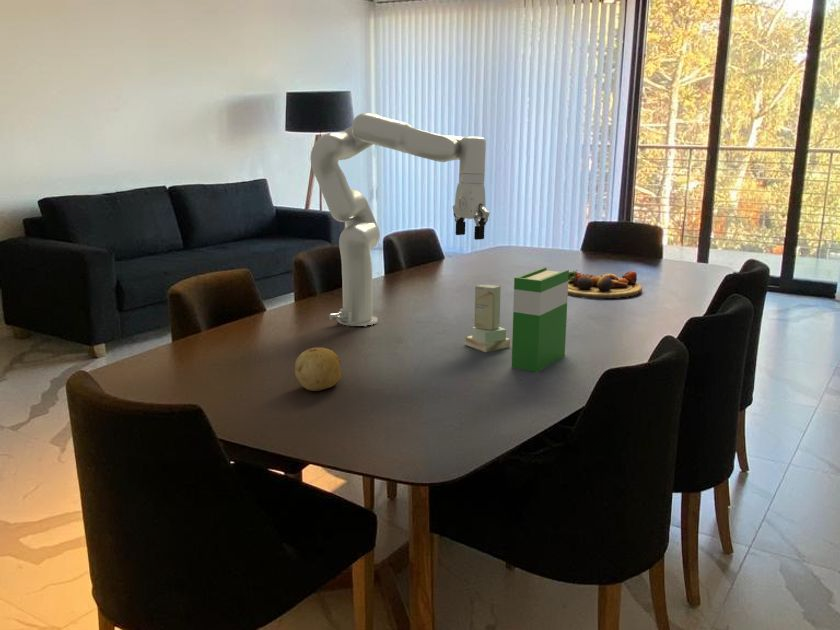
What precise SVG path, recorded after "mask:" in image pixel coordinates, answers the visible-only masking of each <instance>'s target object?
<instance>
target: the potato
mask: <svg viewBox="0 0 840 630" xmlns="http://www.w3.org/2000/svg"><path fill="white" fill-rule="evenodd" d="M340 364H341V360H340V357H339V355H338V354H337V353H336V352H334V351H333V350H332V349H329V348H326V347H312V348H308V349H306V350H304V351H302V352H301V353H300V354H299V355H298V356H297V358H296V360H295V364H294V373H295V378H296V379H297V381H298V382H299V384H300V385H301V386H302V387H303V388H304V389H306V390H308V391H313V392H317V391H322V390H326V389H330V388H332V387H333V386H335V385H336V384H337V383H338V382H340V380H341V378H342V373H341V365H340Z"/></svg>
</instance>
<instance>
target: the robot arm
mask: <svg viewBox="0 0 840 630" xmlns="http://www.w3.org/2000/svg"><path fill="white" fill-rule="evenodd" d="M373 145H374V146H379V147H384V148H387V149H391V150H394V151H398V152H401V153H405V154H407V155H408V154H409V155H411V156H412V155H413V156H414V157H418V158H423V159H427V160H431V161H434V162H439V163H440V162H441V163H445V162H447V163H448V162H451V161H459V162H458V163H459V167H458V168H459V170H458V171H459V172H458V183H457V187H456V191H455V199H454V205H453V206H452V210H453V211H452V212H453V217H454V222H455V235H456V236H463V235H466V221H465V220H466V219H467V220H472V219H473V220H474V223H475V226H474V235H473V239H474V240H475V241H477V240H478V241H479V240H484V239H485V227H486V225H487V222H488V220H489V216H490V214H491V213H490V211H489V210H488V209H487V208H486V190H485V189H486V188H485V176H486V175H485V173H486V172H485V169H486V148H487V147H486V146H487V143H486V139H485V138H484V137H482V136H458V135H451V134H446V135H445V134H444V135H443V134H438V133H433V132H429V131H426V130H422V129H419V128H417V127H414V126H412V125H411V124H410V123H407V122H404V121H400V120H397V119H393V118H388V117H384V116H381V115H380V114H378V113H374V112H372V113H371V112H363V113H360V114H358V115H356V116H355V117H354V118H353V120H352V123H351V126H349V127H348V128H345V129H344V130H342V131H340V132H339V131H336V132H327V133H326V134H323V135H321V136H320V137H319V138H318V139H317V140H316V141H315V142H314V144H313V147H312V149H311V154H310V165H311V169H312V172H313V174H314V177H315V179H316V181H317V183H318V186H319V188H320V191H321V194H322V196H323V198H324V202H325V204H326V206H327V208H328V211H329V213H330V215H331V218H333V219H334V220H335V221H337V222H339V223H345V224H346V227H345V228H344V229H342V232H341V233H340V236H339V239H338V248H339V252H340V260H341V279H342V308H339V311H338V312H336V313H335V312H333V313H329V315H328V318H329V320H331V321H332V320H333V321H334V320H337V322H339V323H341V324H344V325H350V326H364V327H368V326H367V325H371V326H374V325H376V324H378V322H379V321H378V320H379V319H378V317H377V316H375V315H374V313H373V312H374V311H373V310H374V306H373V302H374V301H373V300H374V299H373V263H372V256H371V250H372V249H373V248H376V246H377V245H378V243H379V241H380V236H381V235H380V234H381V233H380V229H379V227H378V224H377V222H376V220H375V216H374V213H373V212H372V209H371V207H370V205H369V202H368V200H367V198H366V196H364V194H363V193H362V192H360V191H359V190H356V189H351V187H350V185H349V183H348V181H347V177H346V176H345V173H344V172H343V170H342V169H341V168H342V167H340V165H339V161H342V160H343V161H345V160H349V159H351V158H353V157H355V156H356V155H358V154H360V153H362V152H363V151H365V150H366V149H368V148H370V147H371V146H373ZM339 323H338V324H339ZM341 324H340V325H341ZM373 324H374V325H373ZM344 325H343V326H344Z"/></svg>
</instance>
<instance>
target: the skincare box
mask: <svg viewBox="0 0 840 630" xmlns="http://www.w3.org/2000/svg"><path fill="white" fill-rule="evenodd" d="M474 290H475V291H474V293H475V294H474V327H475V328H482V329H488V330H494V329H496V328H499V327H501V326H500V322H501V321H500V319H501V317H500V316H501V285H495V284H483V283H482V284H481V283H480V284H477V285H475V288H474Z"/></svg>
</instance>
